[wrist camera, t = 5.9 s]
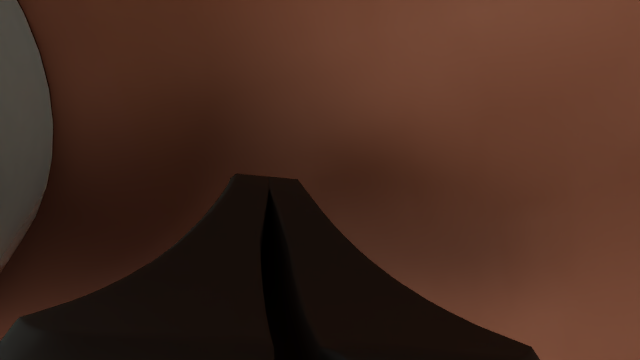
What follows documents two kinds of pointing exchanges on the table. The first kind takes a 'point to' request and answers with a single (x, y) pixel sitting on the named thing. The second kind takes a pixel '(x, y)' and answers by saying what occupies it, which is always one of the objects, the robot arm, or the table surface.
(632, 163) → the table surface
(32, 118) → the pot
